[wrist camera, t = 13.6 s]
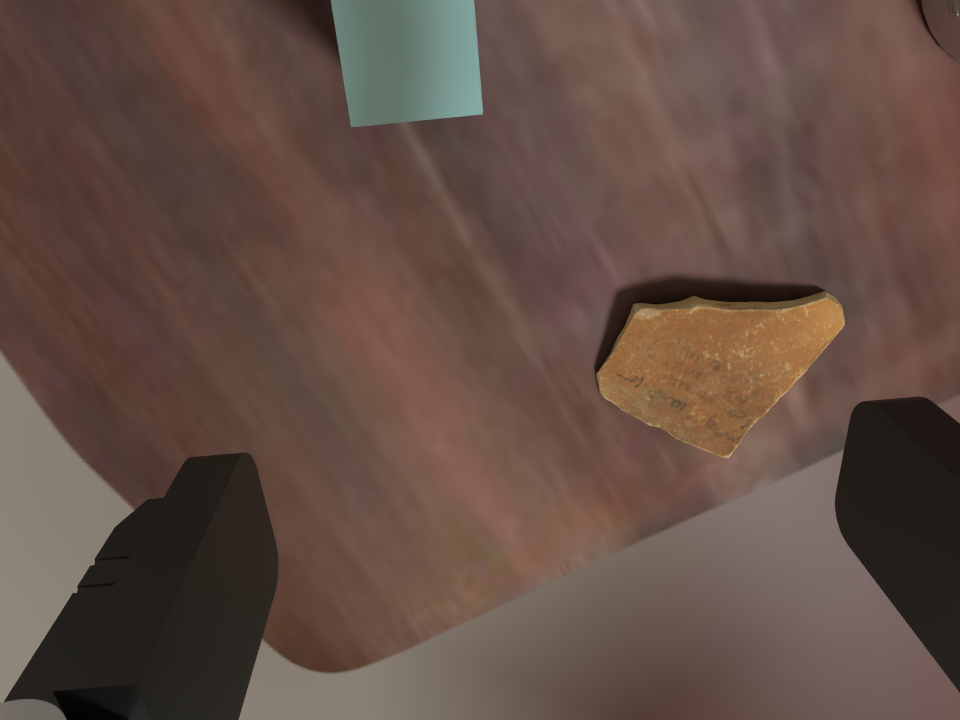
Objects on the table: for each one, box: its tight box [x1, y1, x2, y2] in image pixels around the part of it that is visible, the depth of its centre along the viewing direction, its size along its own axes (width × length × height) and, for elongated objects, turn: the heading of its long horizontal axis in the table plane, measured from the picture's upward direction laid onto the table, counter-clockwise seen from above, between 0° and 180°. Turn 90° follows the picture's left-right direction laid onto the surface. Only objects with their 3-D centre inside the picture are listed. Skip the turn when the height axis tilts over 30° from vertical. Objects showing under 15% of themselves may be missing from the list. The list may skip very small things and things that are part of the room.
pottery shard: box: [596, 291, 845, 458], centre depth 35 cm, size 10×9×2 cm
